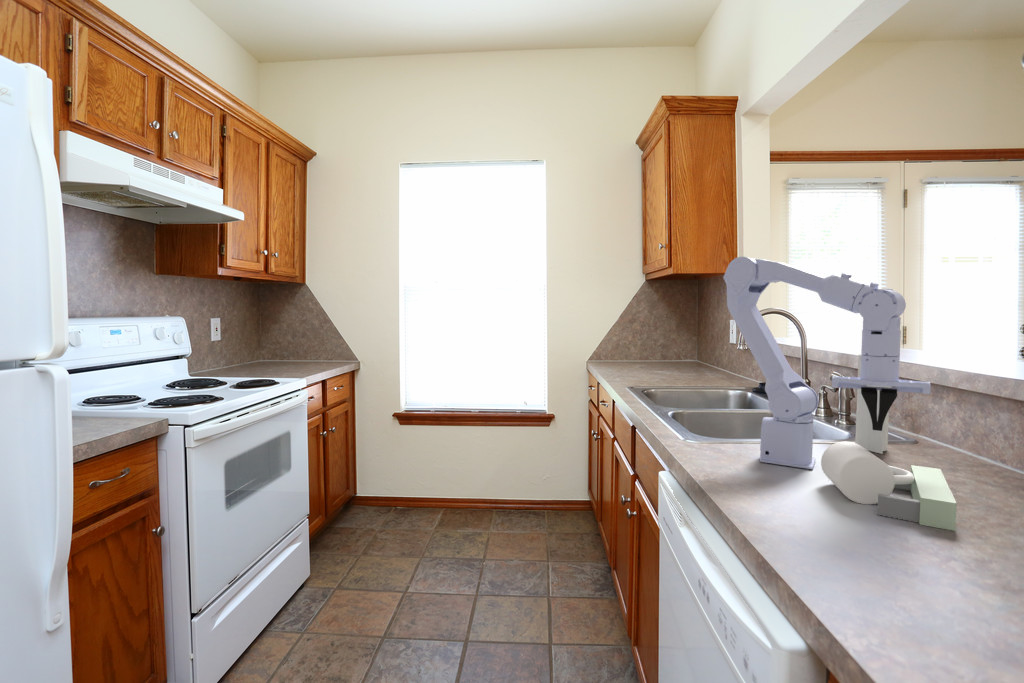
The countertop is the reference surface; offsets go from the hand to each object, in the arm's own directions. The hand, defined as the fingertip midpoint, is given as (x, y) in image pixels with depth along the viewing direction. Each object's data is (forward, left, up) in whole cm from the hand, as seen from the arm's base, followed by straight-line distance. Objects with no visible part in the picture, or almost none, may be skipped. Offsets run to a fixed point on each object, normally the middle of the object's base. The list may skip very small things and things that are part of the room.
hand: (877, 429), depth 95 cm
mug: (-1, -10, -10) cm, 14 cm away
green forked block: (+5, -11, -9) cm, 15 cm away
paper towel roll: (-1, +25, -10) cm, 27 cm away
